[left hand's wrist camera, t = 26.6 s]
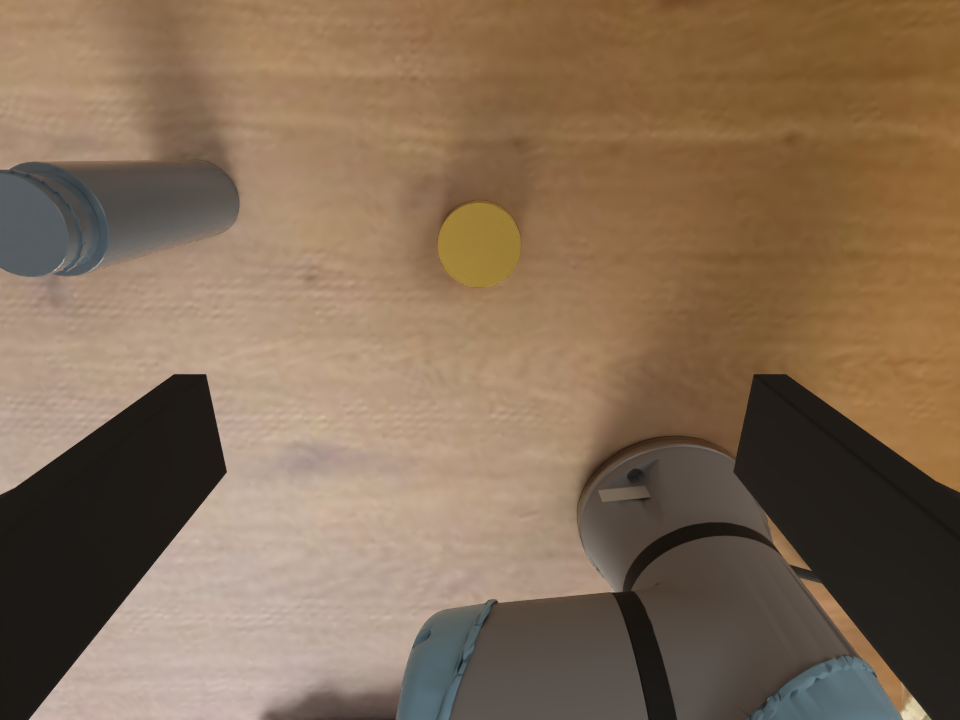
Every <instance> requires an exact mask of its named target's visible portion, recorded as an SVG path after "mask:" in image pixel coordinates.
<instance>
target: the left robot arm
mask: <svg viewBox="0 0 960 720" xmlns="http://www.w3.org/2000/svg"><path fill="white" fill-rule="evenodd" d="M226 473H227V470H226V466H225V461H224V456H223V452H222V447H221V442H220V438H219V433H218V428H217V424H216V419H215V414H214V409H213V405H212V400H211V395H210V391H209V386H208V381H207V377H206V374H174V375H172V376H171V377H170V378H168V379H167V380H165V381H164V382H163V383H161V384H160V385H158V386H157V387H156V388H154V389H153V390H151V391H150V392H149V393H147V394H146V395H144V396H143V397H142V398H140V399H139V400H137V401H136V402H135V403H133V404H132V405H130V406H129V407H128V408H126V409H125V410H123V411H122V412H121V413H119V414H118V415H116V416H115V417H114V418H112V419H111V420H109V421H108V422H107V423H105V424H104V425H102V426H101V427H100V428H98V429H97V430H95V431H94V432H93V433H91V434H90V435H88V436H87V437H86V438H84V439H83V440H81V441H80V442H79V443H77V444H76V445H74V446H73V447H72V448H70V449H69V450H67V451H66V452H65V453H63V454H62V455H60V456H59V457H57V458H56V459H55V460H53V461H52V462H50V463H49V464H48V465H46V466H45V467H43V468H42V469H41V470H39V471H38V472H36V473H35V474H34V475H32V476H31V477H29V478H28V479H27V480H25V481H24V482H22V483H21V484H20V485H18V486H17V487H15V488H14V489H12V490H9V491H7V492H5V493H3V494H1V495H0V720H29V719H30V717H31V716H32V715H33V714H34V712H35V711H36V710H37V709H38V707H39V706H40V705H41V704H42V702H43V701H44V700H45V699H46V697H47V696H48V695H49V694H50V692H51V691H52V690H53V689H54V687H55V686H56V685H57V684H58V682H59V681H60V680H61V679H62V677H63V676H64V675H65V674H66V672H67V671H68V670H69V669H70V667H71V666H72V665H73V664H74V662H75V661H76V660H77V659H78V657H79V656H80V655H81V654H82V652H83V651H84V650H85V649H86V647H87V646H88V645H89V644H90V642H91V641H92V640H93V639H94V637H95V636H96V635H97V634H98V632H99V631H100V630H101V629H102V627H103V626H104V625H105V624H106V622H107V621H108V620H109V619H110V617H111V616H112V615H113V614H114V612H115V611H116V610H117V609H118V607H119V606H120V605H121V604H122V602H123V601H124V600H125V599H126V597H127V596H128V595H129V594H130V592H131V591H132V590H133V589H134V587H135V586H136V585H137V584H138V582H139V581H140V580H141V579H142V577H143V576H144V575H145V574H146V572H147V571H148V570H149V569H150V567H151V566H152V565H153V564H154V562H155V561H156V560H157V559H158V557H159V556H160V555H161V554H162V552H163V551H164V550H165V549H166V547H167V546H168V545H169V544H170V543H171V541H172V540H173V539H174V538H175V536H176V535H177V534H178V533H179V531H180V530H181V529H182V528H183V526H184V525H185V524H186V523H187V521H188V520H189V519H190V518H191V516H192V515H193V514H194V513H195V511H196V510H197V509H198V508H199V506H200V505H201V504H202V503H203V501H204V500H205V499H206V498H207V496H208V495H209V494H210V493H211V491H212V490H213V489H214V488H215V486H216V485H217V484H218V483H219V481H220V480H221V479H222V478H223V476H224V475H225V474H226ZM764 511H765V512H764ZM765 513H766V514H767V515H768V516H769V518H770V519H771V520H772V521H773V523H774V524H775V525H776V526H777V528H778V529H779V530H780V531H781V533H782V534H783V535H784V536H785V538H786V539H787V540H788V541H789V543H790V544H791V545H792V546H793V547H794V549H795V550H796V551H797V552H798V554H799V555H800V556H801V557H802V559H803V560H804V561H805V562H806V564H807V565H808V566H809V567H810V569H811V570H812V571H809V570H806V569H802V568H799V567H796V566H792V565H789V564H788V563H787V562H786V560H785V559H784V558H783V557H782V555H781V554H780V553H779V551H778V550H777V549H776V547H775V546H774V544H773V541H772V537H771V533H770V529H769V525H768V522H767V518H766V515H765ZM577 523H578V529H579V533H580V537H581V541H582V545H583V548H584V550H585V553H586V555H587V556H588V558H589V560H590V561H591V563H592V565H593V566H594V567H595V569H596V570H597V571H598V572H599V573H600V574H601V575H602V577H603V578H605V579H606V581H607V582H608V583H609V585H610V586H611V588H612V589H613V590H614V593H610V592H609V593H598V594H588V595H577V596H567V597H557V598H546V599H536V600H526V601H515V602H505V603H498V601H497V600H496V599H491V600H488V601H487V602H486V603H485V604H479V605H472V606H465V607H459V608H452V609H446V610H442V611H440V612H438V613H436V614H434V615H433V616H431V617H430V618H429V619H428V620H427V621H426V622H425V624H424V625H423V627H422V628H421V629H420V631H419V633H418V635H417V637H416V639H415V642H414V644H413V647H412V650H411V653H410V656H409V659H408V662H407V666H406V670H405V674H404V678H403V682H402V687H401V692H400V697H399V703H398V709H397V715H396V720H903V718H902V717H901V715H900V714H899V712H898V711H897V709H896V708H895V706H894V704H893V703H892V701H891V700H890V698H889V697H888V695H887V694H886V692H885V691H884V689H883V688H882V686H881V684H880V683H879V681H878V680H877V676H876V674H875V672H874V671H873V669H872V667H871V666H870V665H869V664H868V663H867V662H865V661H864V660H862V658H860V657H859V655H858V654H857V653H856V651H855V650H854V649H853V647H852V646H851V645H850V643H849V642H848V641H847V640H846V638H845V637H844V636H843V634H842V633H841V632H840V630H839V629H838V628H837V627H836V625H835V624H834V623H833V621H832V620H831V619H830V617H829V616H828V615H827V614H826V612H825V611H824V610H823V608H822V607H821V606H820V604H819V603H818V602H817V601H816V599H815V598H814V597H813V595H812V594H811V593H810V591H809V590H808V589H807V588H806V586H805V585H804V584H803V582H802V581H801V580H800V578H803V579H807V580H811V581H815V582H818V583H822V584H823V585H824V586H825V587H826V589H827V590H828V591H829V592H830V594H831V595H832V596H833V597H834V599H835V600H836V601H837V602H838V604H839V605H840V606H841V607H842V609H843V610H844V611H845V612H846V614H847V615H848V616H849V617H850V619H851V620H852V621H853V622H854V624H855V625H856V626H857V627H858V629H859V630H860V631H861V632H862V634H863V635H864V636H865V637H866V639H867V640H868V641H869V642H870V644H871V645H872V646H873V647H874V649H875V650H876V651H877V652H878V654H879V655H880V656H881V657H882V659H883V660H884V661H885V662H886V664H887V665H888V666H889V667H890V669H891V670H892V671H893V672H894V674H895V675H896V676H897V677H898V679H899V680H900V681H901V682H902V684H903V685H904V686H905V687H906V689H907V690H908V691H909V692H910V694H911V695H912V696H913V697H914V699H915V700H916V701H917V702H918V704H919V705H920V706H921V707H922V709H923V710H924V711H925V712H926V714H927V715H928V716H929V717H930V719H931V720H960V493H959V492H957V491H955V490H953V489H951V488H949V487H947V486H945V485H943V484H941V483H939V482H936V481H935V480H933V479H932V478H931V477H929V476H928V475H926V474H925V473H924V472H922V471H921V470H919V469H918V468H917V467H915V466H914V465H912V464H911V463H910V462H908V461H907V460H905V459H904V458H903V457H901V456H900V455H898V454H897V453H895V452H894V451H893V450H891V449H890V448H888V447H887V446H886V445H884V444H883V443H881V442H880V441H879V440H877V439H876V438H874V437H873V436H872V435H870V434H869V433H867V432H866V431H865V430H863V429H862V428H860V427H859V426H858V425H856V424H855V423H853V422H852V421H851V420H849V419H848V418H846V417H845V416H844V415H842V414H841V413H839V412H838V411H837V410H835V409H834V408H832V407H831V406H830V405H828V404H827V403H825V402H824V401H823V400H821V399H820V398H818V397H817V396H816V395H814V394H813V393H811V392H810V391H809V390H807V389H806V388H804V387H803V386H802V385H800V384H799V383H797V382H796V381H795V380H793V379H792V378H790V377H789V376H788V375H786V374H754V377H753V381H752V386H751V391H750V395H749V400H748V405H747V409H746V414H745V419H744V424H743V428H742V433H741V438H740V442H739V447H738V452H737V456H736V458H735V457H734V456H732V455H731V454H730V453H729V452H727V451H726V450H725V449H723V448H721V447H719V446H718V445H715V444H713V443H711V442H708V441H705V440H702V439H697V438H692V437H684V436H670V437H660V438H654V439H650V440H646V441H643V442H640V443H637V444H635V445H632V446H630V447H628V448H626V449H624V450H622V451H620V452H619V453H617V454H615V455H614V456H612V457H611V458H610V459H608V460H607V461H606V462H605V463H604V464H603V465H601V466H600V467H599V468H598V470H597V471H596V472H595V473H594V474H593V475H592V477H591V478H590V479H589V481H588V483H587V484H586V486H585V488H584V490H583V492H582V495H581V497H580V500H579V505H578V511H577ZM799 577H800V578H799Z"/></svg>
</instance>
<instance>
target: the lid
mask: <svg viewBox="0 0 960 720" xmlns="http://www.w3.org/2000/svg"><path fill="white" fill-rule="evenodd" d="M437 248H438V255H439V258H440V261H441V263H442V265H443V267H444V269H445V270H446V271H447V273H448V274H449V275H450V276H451V277H452V278H454V279H455V280H456V281H458V282H460V283H462V284H464V285H467V286H471V287H488V286H491V285H494V284H497V283H499V282H500V281H502V280H504V279H505V278H506V277H507V276H508V275H509V274H510V273H511V272H512V271H513V269H514V268H515V266H516V264H517V262H518V260H519V256H520V252H521V238H520V234H519V230H518V228H517V226H516V224H515V222H514V220H513V218H512V217H511V216H510V214H509V213H508V212H507V211H506V210H505V209H503V208H502V207H501V206H499V205H497V204H495V203H492V202H489V201H484V200H474V201H469V202H466V203H464V204H461V205H460V206H458V207H456V208H455V209H454V210H453V211H452V212H451V213H450V214H449V215H448V216H447V218H446V219H445V221H444V223H443V225H442V227H441V229H440V232H439V235H438V242H437Z"/></svg>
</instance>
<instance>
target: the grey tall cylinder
mask: <svg viewBox="0 0 960 720" xmlns="http://www.w3.org/2000/svg"><path fill="white" fill-rule="evenodd" d="M238 212H239V197H238V193H237V190H236V188H235V186H234V184H233V182H232V181H231V179H230V178H229V177H228V175H227V174H226V173H225V172H224V171H223V170H221V169H220V168H219V167H217V166H215V165H214V164H212V163H209V162H206V161H202V160H134V161H55V162H26V163H22V164H19V165H17V166H14V167H12V168H11V169H9V170H0V268H2V269H4V270H6V271H8V272H10V273H13V274H16V275H20V276H26V277H40V276H45V275H49V274H54V275H60V276H78V275H82V274H86V273H89V272H92V271H96V270H99V269H103V268H106V267H109V266H113V265H116V264H119V263H123V262H126V261H129V260H133V259H136V258H139V257H143V256H146V255H150V254H153V253H156V252H160V251H163V250H166V249H170V248H173V247H176V246H180V245H183V244H186V243H190V242H193V241H197V240H200V239H203V238H207V237H210V236H213V235H217V234H220V233H222V232H224V231H226V230H228V229H229V228H230V227H231V226H232V225H233V223H234V222H235V220H236V218H237V216H238Z"/></svg>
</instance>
